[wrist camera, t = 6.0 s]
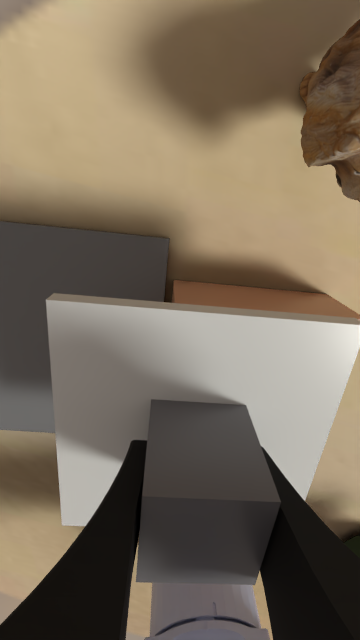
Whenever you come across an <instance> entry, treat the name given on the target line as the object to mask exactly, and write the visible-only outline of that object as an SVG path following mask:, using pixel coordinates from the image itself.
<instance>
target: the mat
mask: <svg viewBox="0 0 360 640" xmlns="http://www.w3.org/2000/svg"><path fill="white" fill-rule="evenodd" d="M168 249H169V238H161V237H152V236H142V235H132V234H122V233H113V232H103V231H93V230H83V229H74V228H64V227H54V226H44V225H35V224H25V223H15V222H5V221H0V430H13V431H30V432H48V433H55V420H54V406H53V392H52V378H51V364H50V350H49V337H48V323H47V309H46V299H47V298H49V297H50V296H51V295H52V294H53V293H59V294H71V295H83V296H95V297H107V298H119V299H131V300H144V301H156V302H164V294H165V283H166V271H167V260H168Z"/></svg>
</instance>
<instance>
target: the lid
mask: <svg viewBox="0 0 360 640" xmlns="http://www.w3.org/2000/svg"><path fill="white" fill-rule="evenodd" d="M46 309H47V323H48V337H49V350H50V364H51V378H52V392H53V406H54V420H55V434H56V448H57V462H58V476H59V490H60V503H61V517H62V525H66V526H86V525H87V523H88V522H89V520H90V519H91V517H92V516H93V514H94V513H95V511H96V510H97V508H98V507H99V505H100V504H101V502H102V500H103V499H104V497H105V495H106V494H107V492H108V490H109V489H110V487H111V485H112V483H113V481H114V479H115V477H116V476H117V474H118V472H119V470H120V468H121V466H122V464H123V461H124V459H125V457H126V454H127V452H128V449H129V446H130V443H131V441H133V440H147V449H146V460H145V471H144V481H143V492H142V505H141V519H140V533H139V547H138V561H137V575H136V582H151V583H194V584H236V585H255V583H256V580H257V577H258V574H259V571H260V567H261V564H262V561H263V558H264V555H265V551H266V548H267V545H268V542H269V539H270V536H271V532H272V529H273V526H274V523H275V520H276V517H277V513H278V510H279V507H280V504H281V501H280V498H279V495H278V492H277V489H276V487H275V484H274V481H273V478H272V476H271V473H270V470H269V467H268V465H267V462H266V459H265V456H264V454H263V451H262V448H261V446H262V447H263V448H264V449H265V450H266V452H267V453H268V454H269V456H270V457H271V458H272V460H273V461H274V462H275V464H276V465H277V467H278V468H279V469H280V470H281V472H282V473H283V474H284V476H285V477H286V478H287V480H288V481H289V482H290V484H291V485H292V486H293V487H294V489H295V490H296V491H297V492H298V493H299V495H300V496H301V497H302V498H303V500H304V501H305V499H306V496H307V494H308V491H309V488H310V485H311V482H312V480H313V477H314V474H315V471H316V468H317V466H318V463H319V460H320V457H321V454H322V452H323V449H324V446H325V443H326V440H327V438H328V435H329V432H330V429H331V426H332V423H333V421H334V418H335V415H336V412H337V409H338V407H339V404H340V401H341V398H342V395H343V393H344V390H345V387H346V384H347V381H348V379H349V376H350V373H351V370H352V367H353V365H354V362H355V359H356V356H357V353H358V351H359V348H360V321H359V320H358V319H356V318H350V317H338V316H326V315H314V314H302V313H290V312H277V311H265V310H253V309H241V308H229V307H217V306H204V305H192V304H180V303H168V302H156V301H144V300H131V299H119V298H107V297H95V296H83V295H71V294H59V293H53V294H52V295H51V296H50V297H49V298H47V299H46Z"/></svg>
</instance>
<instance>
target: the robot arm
mask: <svg viewBox="0 0 360 640" xmlns="http://www.w3.org/2000/svg"><path fill="white" fill-rule="evenodd" d="M261 448H262V451H263V454H264V456H265V459H266V462H267V465H268V467H269V470H270V473H271V476H272V478H273V481H274V484H275V487H276V489H277V492H278V495H279V498H280V501H281V504H280V507H279V510H278V513H277V517H276V520H275V523H274V526H273V529H272V532H271V536H270V539H269V542H268V545H267V548H266V551H265V555H264V558H263V561H262V564H261V567H260V573H261V577H262V581H263V586H264V590H265V596H266V601H267V607H268V612H269V617H270V623H271V629H272V635H273V640H360V558H359V557H358V556H357V555H356V554H355V553H354V552H352V551H351V550H350V549H349V548H348V547H347V546H346V545H345V544H344V543H343V542H342V541H341V540H340V539H339V538H338V537H337V536H336V535H335V534H334V533H333V532H332V531H331V530H330V529H329V528H328V527H327V526H326V525H325V524H324V522H323V521H322V520H321V519H320V518H319V517H318V516H317V515H316V514H315V512H314V511H313V510H312V509H311V508H310V507H309V506H308V504H307V503H306V502H305V501H304V500H303V498H302V497H301V496H300V495H299V493H298V492H297V491H296V490H295V489H294V487H293V486H292V485H291V484H290V482H289V481H288V480H287V478H286V477H285V476H284V474H283V473H282V472H281V470H280V469H279V468H278V467H277V465H276V464H275V462H274V461H273V460H272V458H271V457H270V456H269V454H268V453H267V452H266V450H265V449H264V448H263V447H262V446H261ZM146 449H147V440H133V441H131V443H130V446H129V449H128V452H127V454H126V457H125V459H124V461H123V464H122V466H121V468H120V470H119V472H118V474H117V476H116V477H115V479H114V481H113V483H112V485H111V487H110V489H109V490H108V492H107V494H106V495H105V497H104V499H103V500H102V502H101V504H100V505H99V507H98V508H97V510H96V511H95V513H94V514H93V516H92V517H91V519H90V520H89V522H88V523H87V525H86V526H85V528H84V529H83V530H82V532H81V533H80V534H79V536H78V537H77V538H76V540H75V541H74V542H73V544H72V545H71V546H70V548H69V549H68V550H67V552H66V553H65V554H64V555H63V557H62V558H61V559H60V560H59V561H58V563H57V564H56V565H55V566H54V567H53V568H52V570H51V571H50V572H49V573H48V574H47V575H46V577H45V578H44V579H43V580H42V581H41V582H40V583H39V585H38V586H37V587H36V588H35V589H34V590H33V591H32V592H31V593H30V595H29V596H28V597H27V598H26V599H25V600H24V601H23V602H22V603H21V604H20V605H19V606H18V607H17V608H16V609H15V610H14V611H13V612H12V613H11V614H10V615H9V616H8V618H7V619H6V620H5V621H4V622H3V623H2V624H1V625H0V640H125V638H126V628H127V618H128V608H129V598H130V587H131V579H132V572H133V566H134V560H135V554H136V548H137V542H138V537H139V531H140V519H141V505H142V492H143V481H144V471H145V460H146ZM144 640H270V638H269V633H268V630H267V629H261V625H260V620H259V615H258V610H257V606H256V601H255V596H254V591H253V587H252V585H236V584H194V583H152V599H151V621H150V637H146V638H145V639H144Z"/></svg>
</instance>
